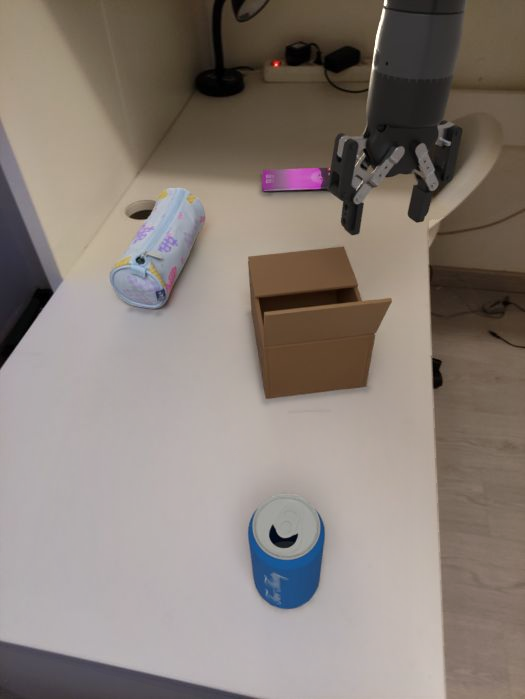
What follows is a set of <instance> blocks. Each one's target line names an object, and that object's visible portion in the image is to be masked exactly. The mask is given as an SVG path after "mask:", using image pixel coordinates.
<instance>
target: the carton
mask: <svg viewBox="0 0 525 699" xmlns="http://www.w3.org/2000/svg"><path fill="white" fill-rule="evenodd" d="M247 259H248V261H247V267H248V268H247V269H248V280H249V298H250V309H251V310H250V311H251V319H252V324H253V325H252V326H253V331H254V336H255V344H256V348H257V354H258V355H257V356H258V361H259V367H260V374H261V380H262V385H263V391H264V397H265V399H266V400H267V399H276V398H285V397H293V396H300V395H307V394H308V395H309V394H317V393H325V392H332V391H333V392H334V391H341V390H350V389H357V388H358V389H359V388H367V383H368V380H369V372H370V367H371V363H372V362H371V361H372V356H373V350H374V344H375V338H376V333H372V334H363V335H355V336H346V337H337V338H329V339H320V340H312V341H303V342H295V343H286V344H277V345H269V346H264V345H263V336H264V312H270V311H279V310H288V309H297V308H305V307H314V306H323V305H332V304H341V303H350V302H359V301H363V299H362V296H361V293H360V291H359V288H358V287H359V283H358V280H357V277H356V275H355V272H354V270H353V267H352V264H351V262H350V258H349V256H348V253H347V251H346V248H345V246H336V247H334V246H333V247H326V248H316V249H315V248H314V249H306V250H295V251H288V252H278V253H268V254H260V255H250V256H248V257H247Z"/></svg>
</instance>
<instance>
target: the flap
mask: <svg viewBox="0 0 525 699" xmlns="http://www.w3.org/2000/svg"><path fill="white" fill-rule="evenodd" d="M392 302H393V298H392V297H386V298H378V299H369V300H362V301H359V302H350V303H341V304H332V305H323V306H314V307H305V308H297V309H288V310H279V311H270V312H264V336H263V345H264V346H269V345H277V344H286V343H295V342H303V341H312V340H320V339H329V338H337V337H346V336H355V335H363V334H372V333H374V334H376V333H377V332H378V330H379V328H380V327H381V324H382V322H383V320H384V318H385V317H386V315H387V312H388V310H389V308H390V307H391V304H392Z"/></svg>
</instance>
